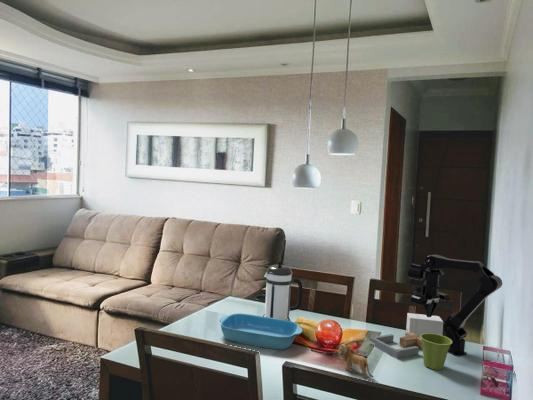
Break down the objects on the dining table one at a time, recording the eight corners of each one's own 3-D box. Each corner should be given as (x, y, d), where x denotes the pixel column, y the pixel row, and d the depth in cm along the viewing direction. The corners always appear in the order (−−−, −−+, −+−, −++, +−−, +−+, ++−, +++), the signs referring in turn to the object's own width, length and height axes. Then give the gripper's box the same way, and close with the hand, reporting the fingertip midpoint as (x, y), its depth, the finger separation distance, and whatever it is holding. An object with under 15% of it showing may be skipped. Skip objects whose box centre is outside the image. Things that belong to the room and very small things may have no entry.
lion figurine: (334, 367, 165) (336, 344, 164) (341, 363, 169) (343, 341, 168) (370, 381, 155) (371, 356, 155) (376, 376, 159) (378, 352, 159)
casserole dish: (305, 337, 195) (306, 321, 195) (295, 356, 174) (296, 338, 173) (228, 325, 205) (229, 310, 204) (210, 341, 183) (211, 325, 183)
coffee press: (284, 328, 204) (288, 265, 202) (255, 321, 212) (259, 260, 210) (301, 319, 218) (304, 260, 217) (273, 312, 227) (277, 255, 225)
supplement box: (408, 336, 202) (442, 340, 200) (409, 317, 202) (443, 321, 199) (405, 330, 211) (438, 334, 208) (407, 312, 211) (439, 315, 208)
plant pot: (433, 375, 163) (436, 345, 163) (411, 361, 174) (413, 334, 173) (456, 371, 168) (459, 342, 167) (433, 358, 179) (436, 331, 178)
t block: (427, 348, 189) (428, 339, 189) (410, 352, 184) (411, 342, 184) (410, 340, 198) (411, 332, 198) (393, 343, 193) (394, 334, 193)
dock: (418, 354, 182) (419, 347, 182) (396, 359, 176) (397, 351, 176) (390, 340, 197) (390, 333, 197) (369, 343, 191) (369, 336, 191)
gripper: (432, 277, 206) (429, 309, 206) (402, 279, 197) (400, 313, 198) (451, 283, 196) (449, 317, 197) (421, 285, 187) (419, 321, 188)
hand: (428, 317), depth 195 cm, fingers closed
